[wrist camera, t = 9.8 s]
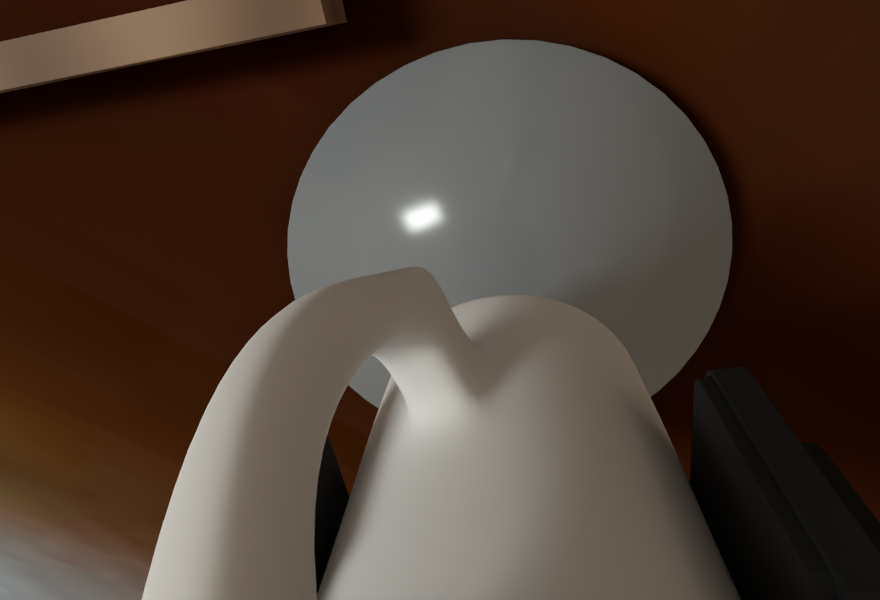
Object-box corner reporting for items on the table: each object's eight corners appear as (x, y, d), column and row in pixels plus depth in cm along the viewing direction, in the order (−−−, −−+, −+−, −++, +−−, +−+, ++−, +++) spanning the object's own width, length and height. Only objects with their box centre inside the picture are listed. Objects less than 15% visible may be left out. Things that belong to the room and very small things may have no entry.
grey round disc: (740, -10, 13) (751, -10, 12) (712, 418, 19) (719, 430, 18) (234, 87, 15) (225, 90, 14) (351, 446, 21) (347, 457, 20)
